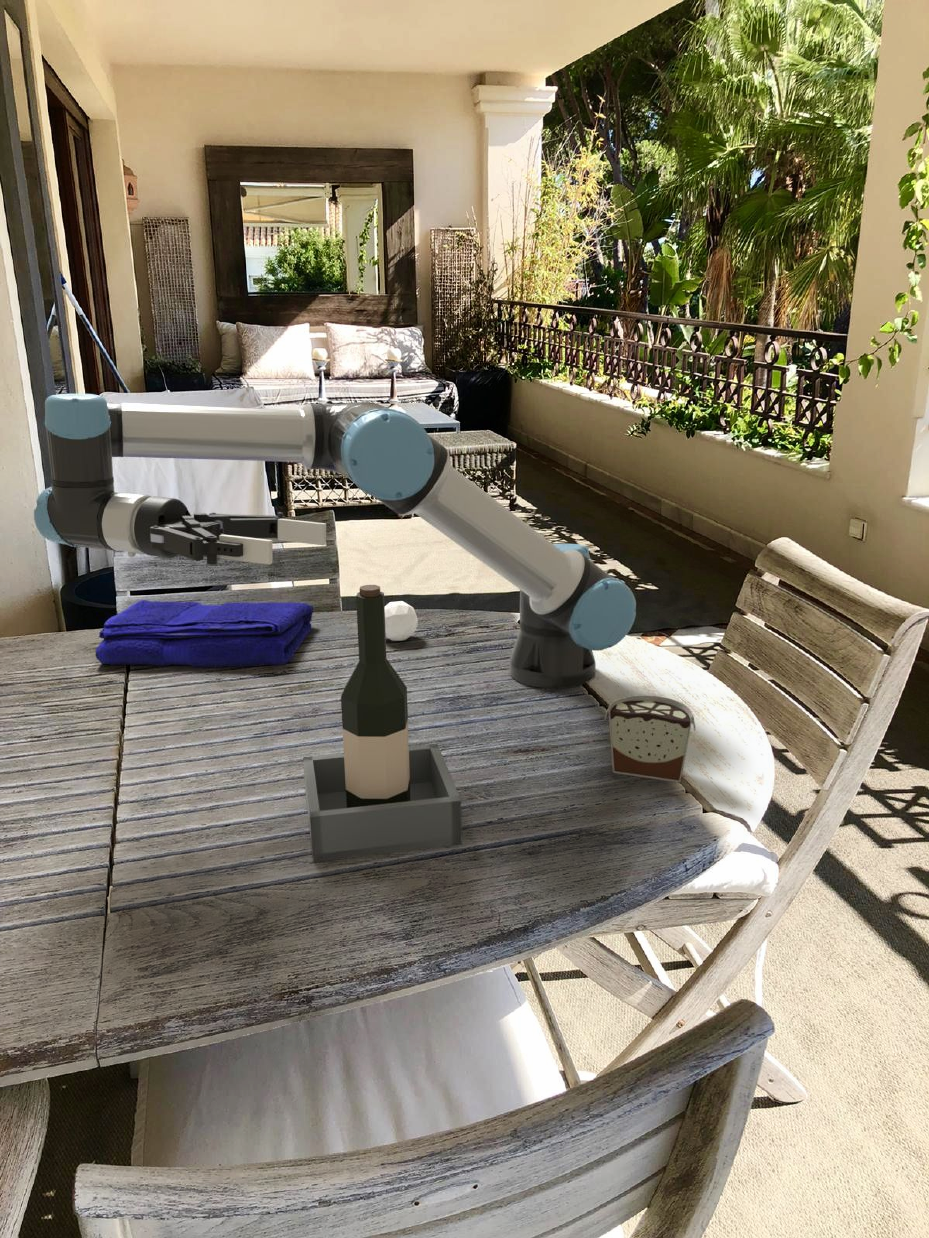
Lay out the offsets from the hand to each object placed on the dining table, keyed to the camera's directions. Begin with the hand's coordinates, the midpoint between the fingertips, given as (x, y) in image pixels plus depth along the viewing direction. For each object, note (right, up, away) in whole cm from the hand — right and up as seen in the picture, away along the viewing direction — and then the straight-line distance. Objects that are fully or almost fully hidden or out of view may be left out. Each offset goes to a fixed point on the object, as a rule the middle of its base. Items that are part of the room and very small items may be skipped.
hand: (299, 543), depth 118 cm
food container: (+46, -30, +20) cm, 59 cm away
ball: (+7, -13, +73) cm, 74 cm away
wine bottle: (+9, -34, +7) cm, 36 cm away
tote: (+9, -35, +7) cm, 37 cm away
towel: (-29, -15, +71) cm, 78 cm away
